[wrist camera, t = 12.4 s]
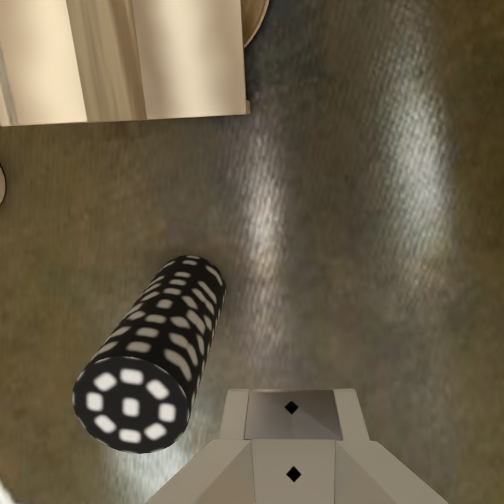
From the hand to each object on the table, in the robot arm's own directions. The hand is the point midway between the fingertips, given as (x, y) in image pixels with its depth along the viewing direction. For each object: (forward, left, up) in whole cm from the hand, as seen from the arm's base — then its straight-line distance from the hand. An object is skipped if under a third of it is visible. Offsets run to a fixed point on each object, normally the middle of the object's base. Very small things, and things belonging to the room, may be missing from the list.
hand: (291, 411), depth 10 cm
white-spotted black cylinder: (+11, +12, -34) cm, 38 cm away
